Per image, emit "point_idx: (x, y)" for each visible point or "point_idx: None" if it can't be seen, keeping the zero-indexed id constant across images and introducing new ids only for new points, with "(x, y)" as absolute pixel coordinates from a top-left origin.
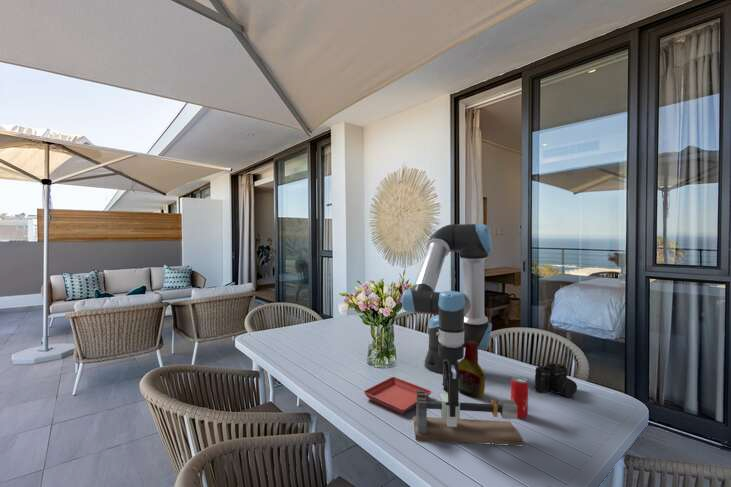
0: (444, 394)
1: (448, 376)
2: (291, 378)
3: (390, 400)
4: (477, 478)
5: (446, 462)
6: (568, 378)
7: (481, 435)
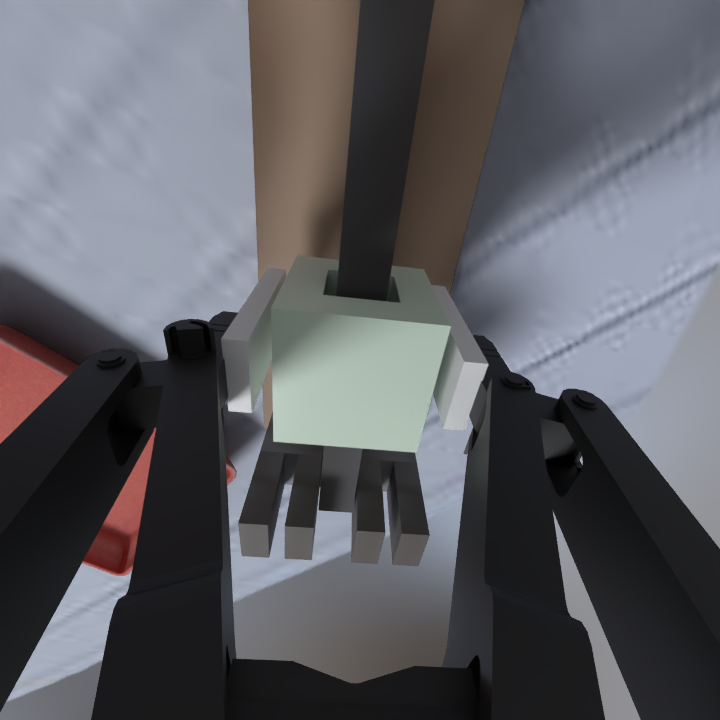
0: (289, 417)
1: (227, 571)
2: (76, 669)
3: None
4: (716, 247)
5: (572, 346)
6: None
7: (462, 93)
